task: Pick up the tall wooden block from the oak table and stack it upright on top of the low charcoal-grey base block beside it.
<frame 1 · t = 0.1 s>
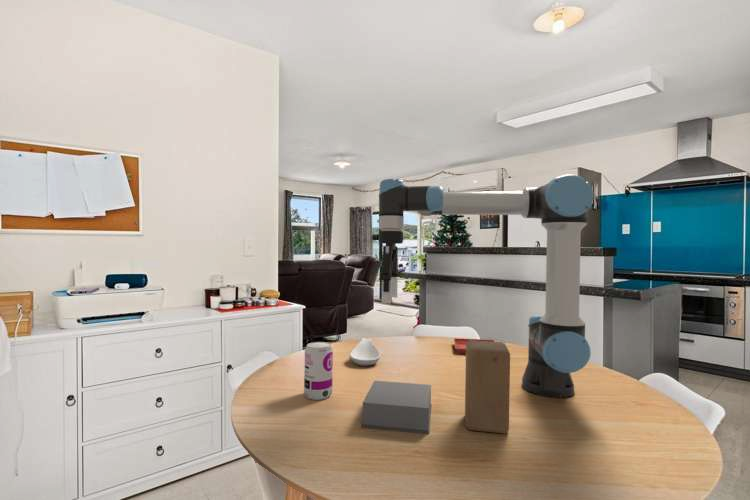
hand: (389, 300, 118), 28 cm above the table, tool pointing down, fingers open, 13 cm apart
charcoal base block: (398, 416, 101), on the table
spoon rest: (365, 360, 153), on the table
wooden block: (485, 425, 97), on the table
plant saucer: (475, 351, 168), on the table
supplement can: (318, 396, 114), on the table
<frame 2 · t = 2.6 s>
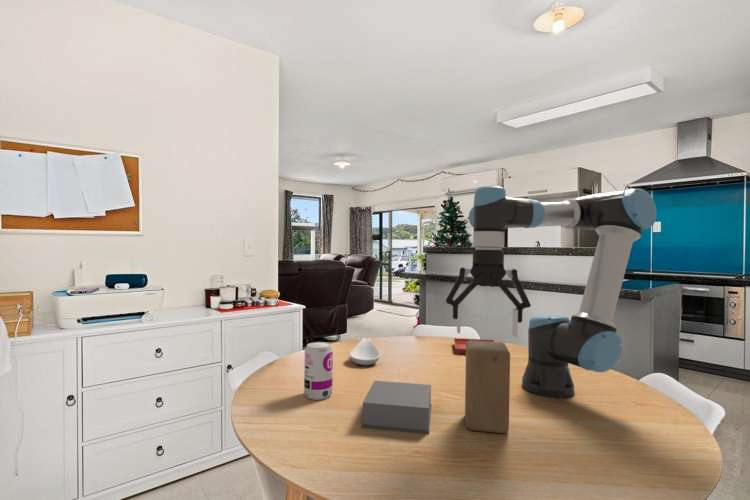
hand: (486, 333, 97), 23 cm above the table, tool pointing down, fingers open, 13 cm apart
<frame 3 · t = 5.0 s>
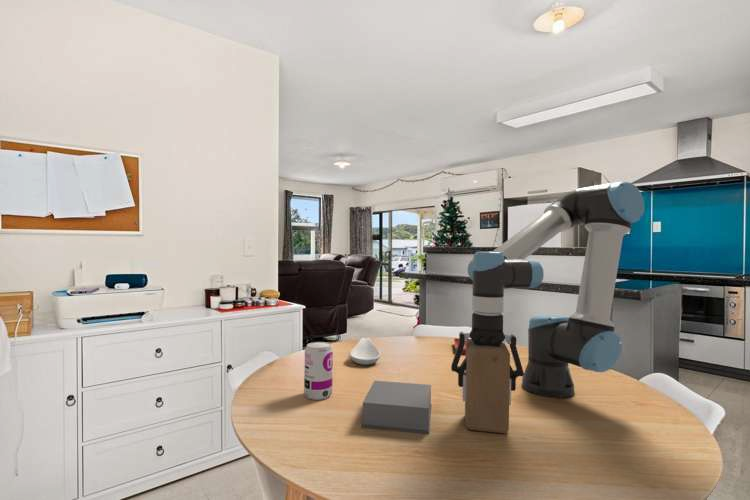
hand: (486, 401, 97), 6 cm above the table, tool pointing down, fingers closed on wooden block, 10 cm apart
wooden block: (485, 424, 97), on the table, touching gripper
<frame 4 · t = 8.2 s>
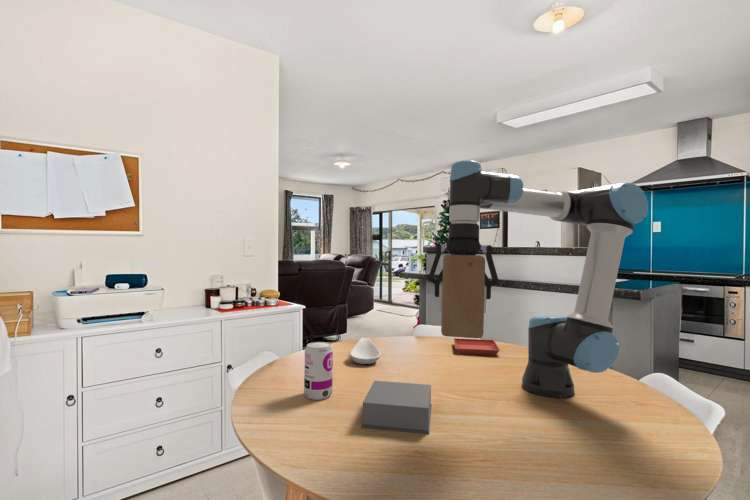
hand: (461, 311, 98), 28 cm above the table, tool pointing down, fingers closed on wooden block, 10 cm apart
wooden block: (461, 334, 98), point 22 cm above the table, touching gripper
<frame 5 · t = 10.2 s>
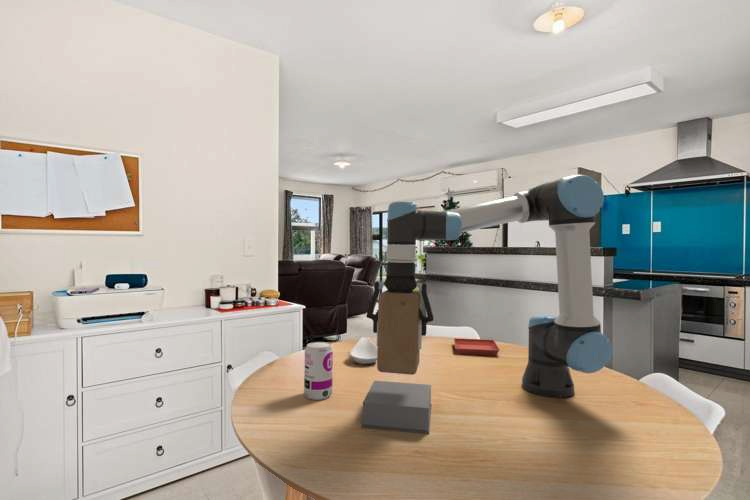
hand: (399, 346, 101), 18 cm above the table, tool pointing down, fingers closed on wooden block, 10 cm apart
wooden block: (398, 369, 101), point 12 cm above the table, touching gripper
when the fingers open (13 cm above the table, at t = 11.7 s): wooden block drops 1 cm, resting on charcoal base block.
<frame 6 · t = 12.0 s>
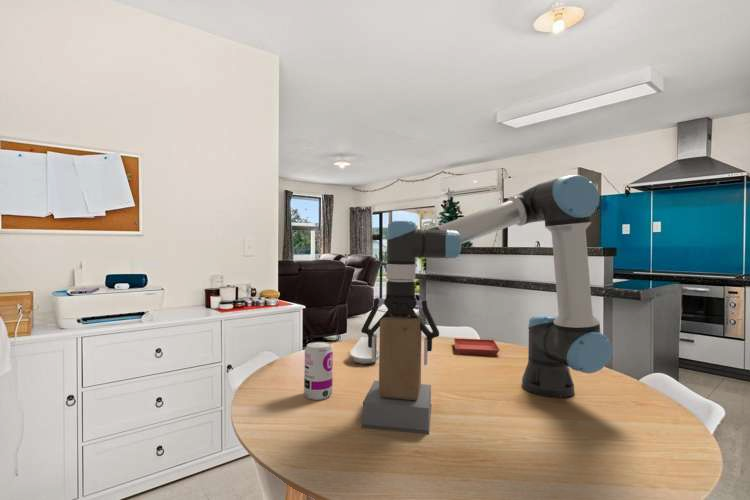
hand: (399, 361, 101), 14 cm above the table, tool pointing down, fingers open, 13 cm apart
wooden block: (400, 393, 101), point 6 cm above the table, touching charcoal base block
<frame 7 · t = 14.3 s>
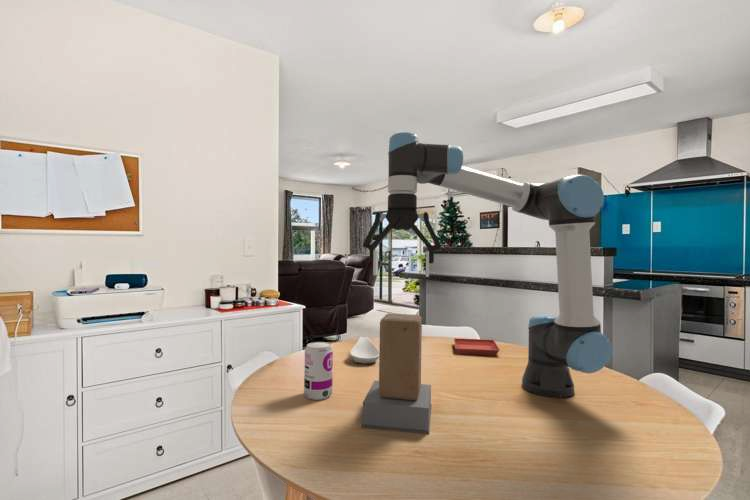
hand: (401, 275, 101), 37 cm above the table, tool pointing down, fingers open, 13 cm apart
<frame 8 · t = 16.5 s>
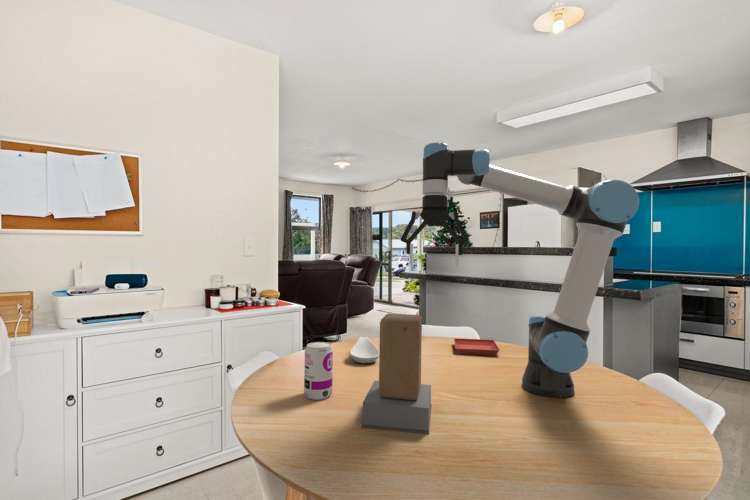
hand: (433, 265, 117), 39 cm above the table, tool pointing down, fingers open, 13 cm apart
at the end: wooden block inside the target area on the charcoal base block (0.3 cm from its centre), point 5.8 cm above the charcoal base block's base; wooden block tilted 0°; the gripper is holding nothing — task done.
